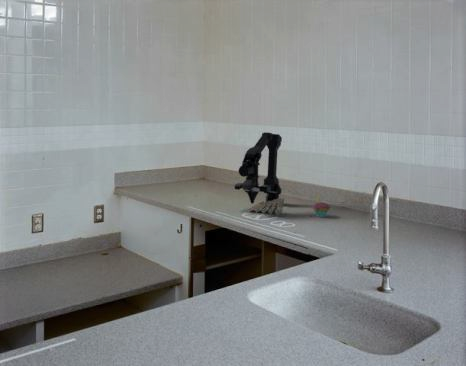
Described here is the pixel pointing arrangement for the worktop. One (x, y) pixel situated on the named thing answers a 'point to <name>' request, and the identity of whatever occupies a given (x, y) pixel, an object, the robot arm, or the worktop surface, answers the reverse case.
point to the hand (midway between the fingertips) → (252, 203)
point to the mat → (264, 213)
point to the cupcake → (321, 208)
